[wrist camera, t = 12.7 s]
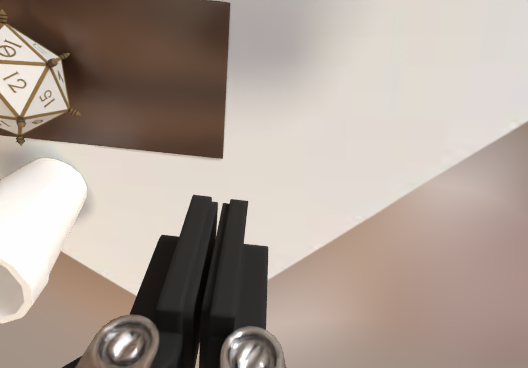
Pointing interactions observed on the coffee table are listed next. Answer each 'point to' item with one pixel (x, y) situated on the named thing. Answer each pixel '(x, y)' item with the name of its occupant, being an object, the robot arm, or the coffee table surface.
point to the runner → (135, 71)
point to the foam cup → (34, 229)
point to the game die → (29, 82)
